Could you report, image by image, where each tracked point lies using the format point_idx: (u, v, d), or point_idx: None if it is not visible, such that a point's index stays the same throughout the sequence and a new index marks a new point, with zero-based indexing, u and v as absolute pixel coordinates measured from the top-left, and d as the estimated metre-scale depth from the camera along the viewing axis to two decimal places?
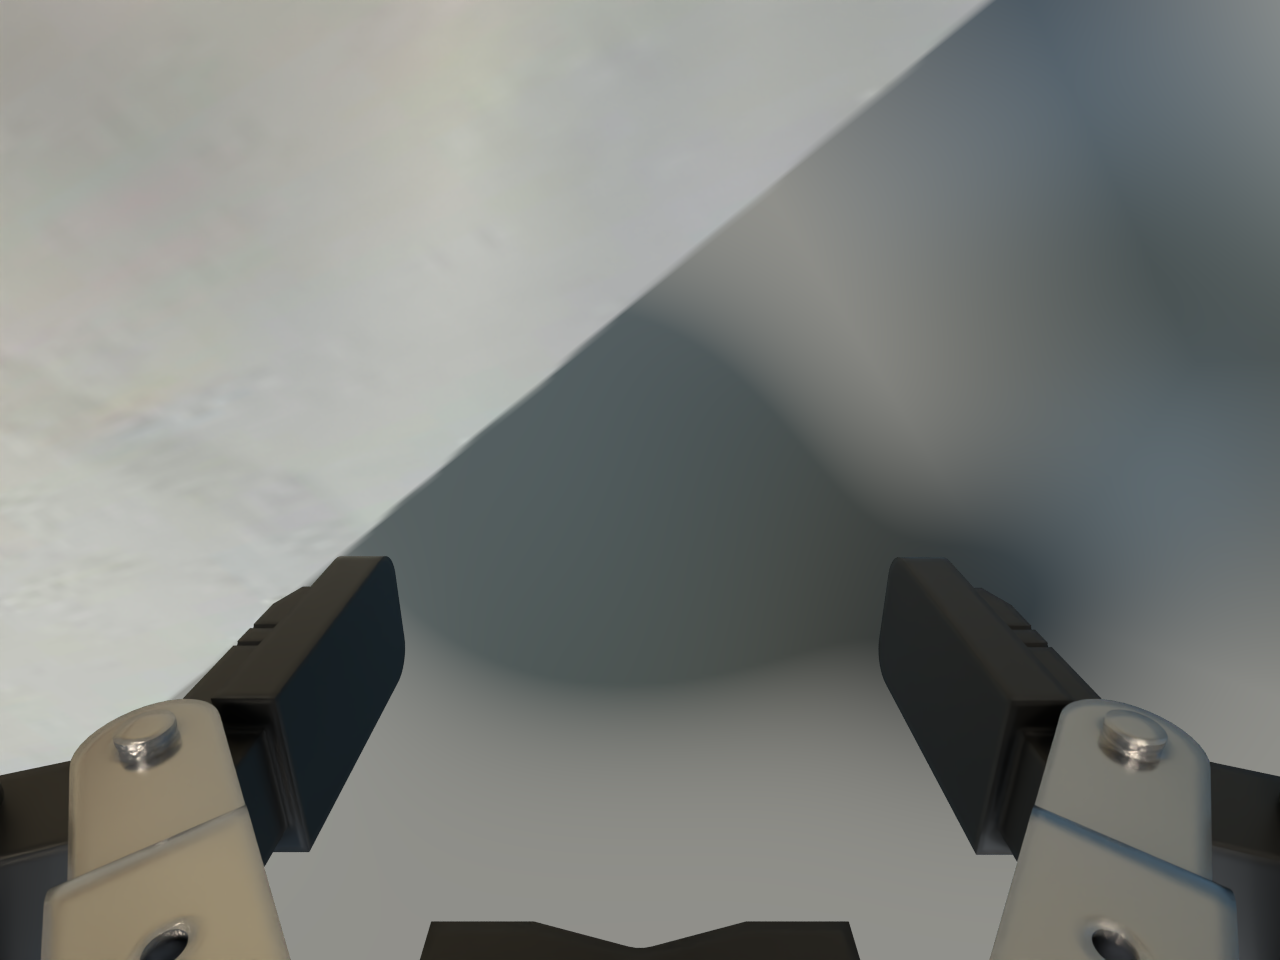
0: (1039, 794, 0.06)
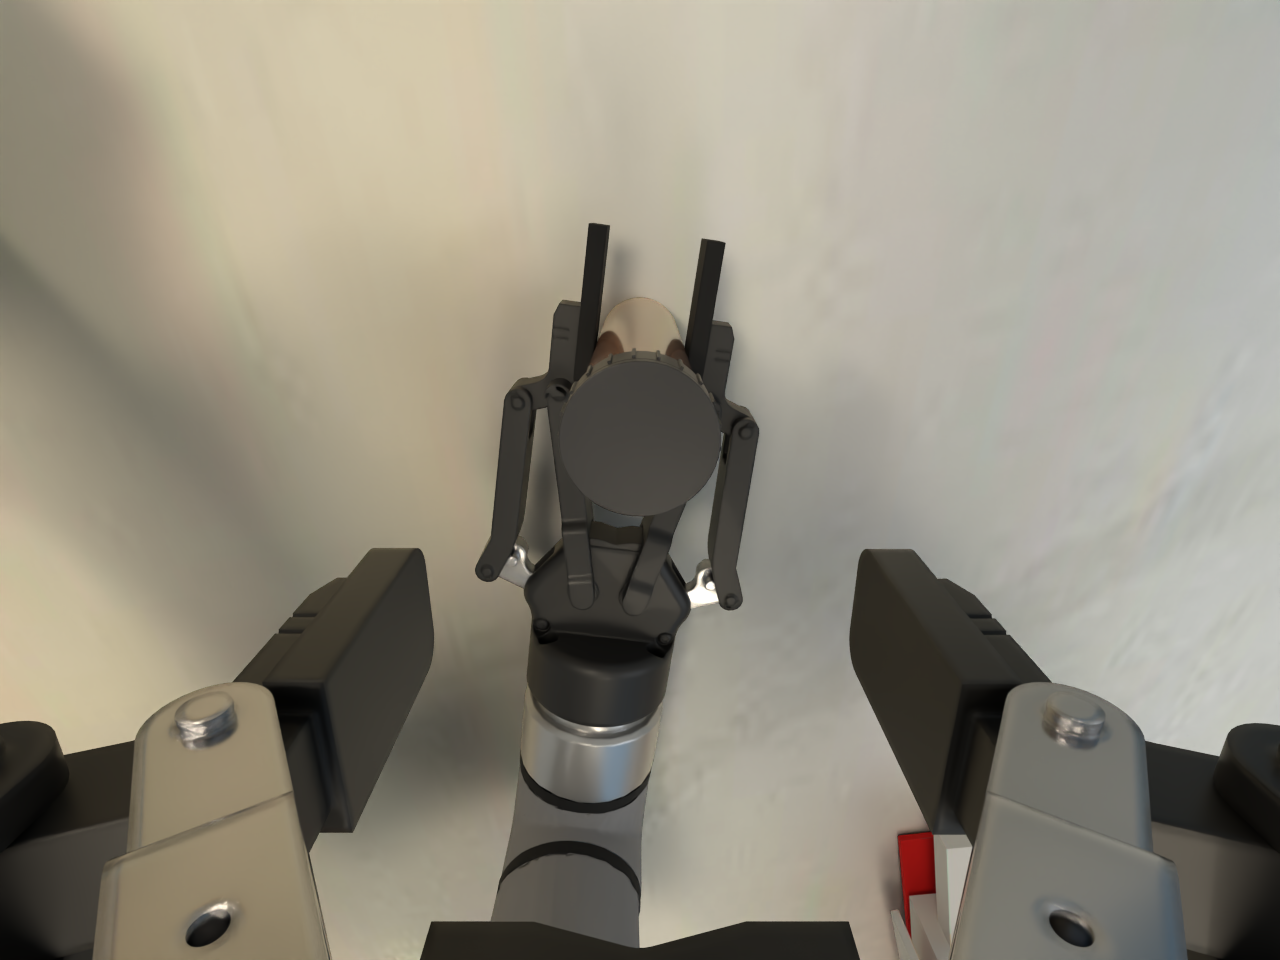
0: (990, 779, 0.06)
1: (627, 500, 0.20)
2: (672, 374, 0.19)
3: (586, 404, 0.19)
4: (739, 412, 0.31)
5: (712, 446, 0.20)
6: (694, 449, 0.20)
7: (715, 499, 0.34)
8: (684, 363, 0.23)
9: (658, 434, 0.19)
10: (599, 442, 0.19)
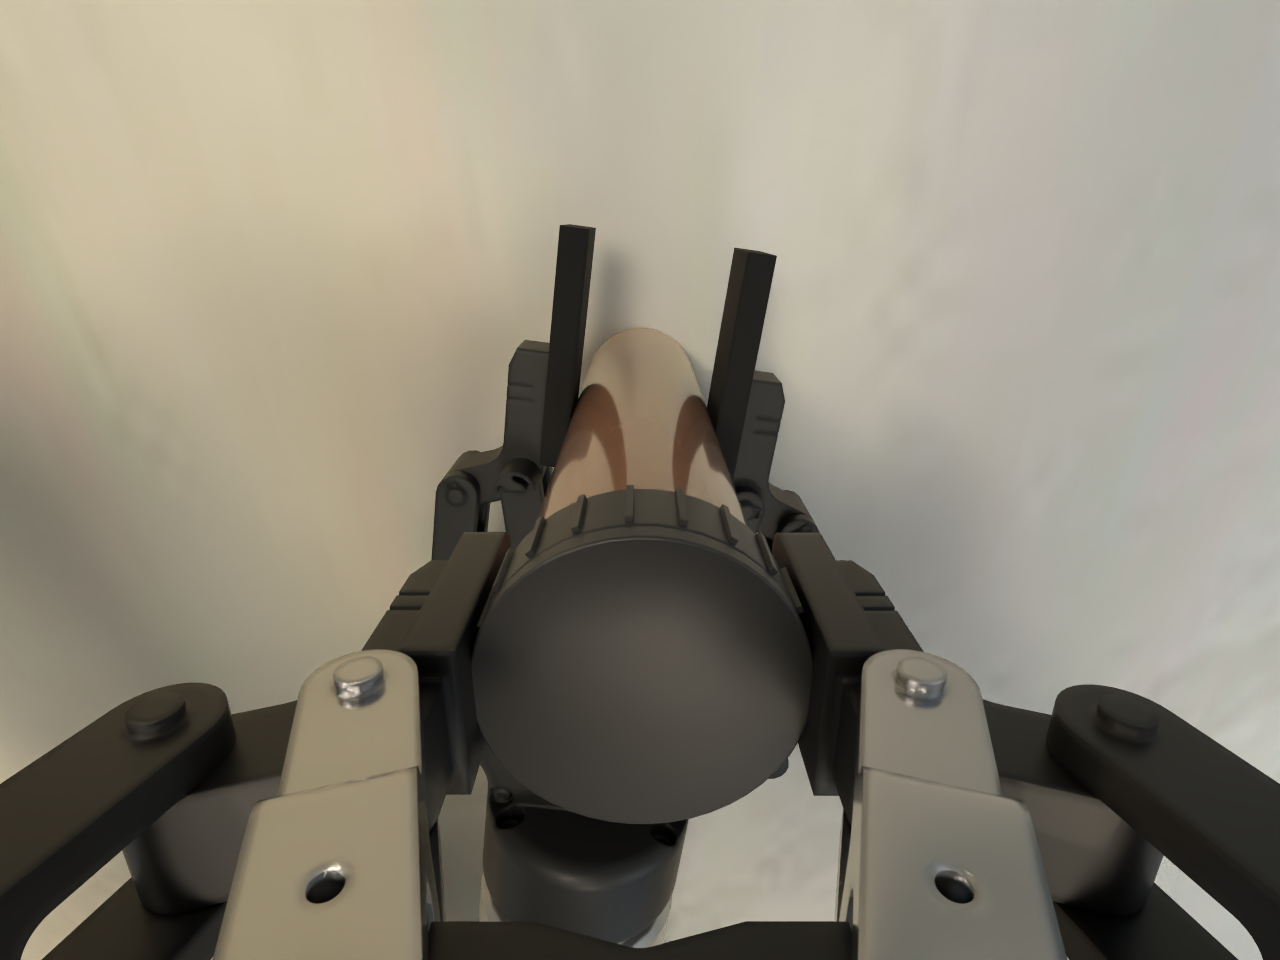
0: (860, 752, 0.06)
1: (616, 798, 0.10)
2: (714, 563, 0.08)
3: (525, 622, 0.09)
4: (789, 507, 0.21)
5: (796, 701, 0.09)
6: (758, 707, 0.09)
7: None
8: (722, 481, 0.13)
9: (682, 679, 0.09)
10: (556, 693, 0.09)
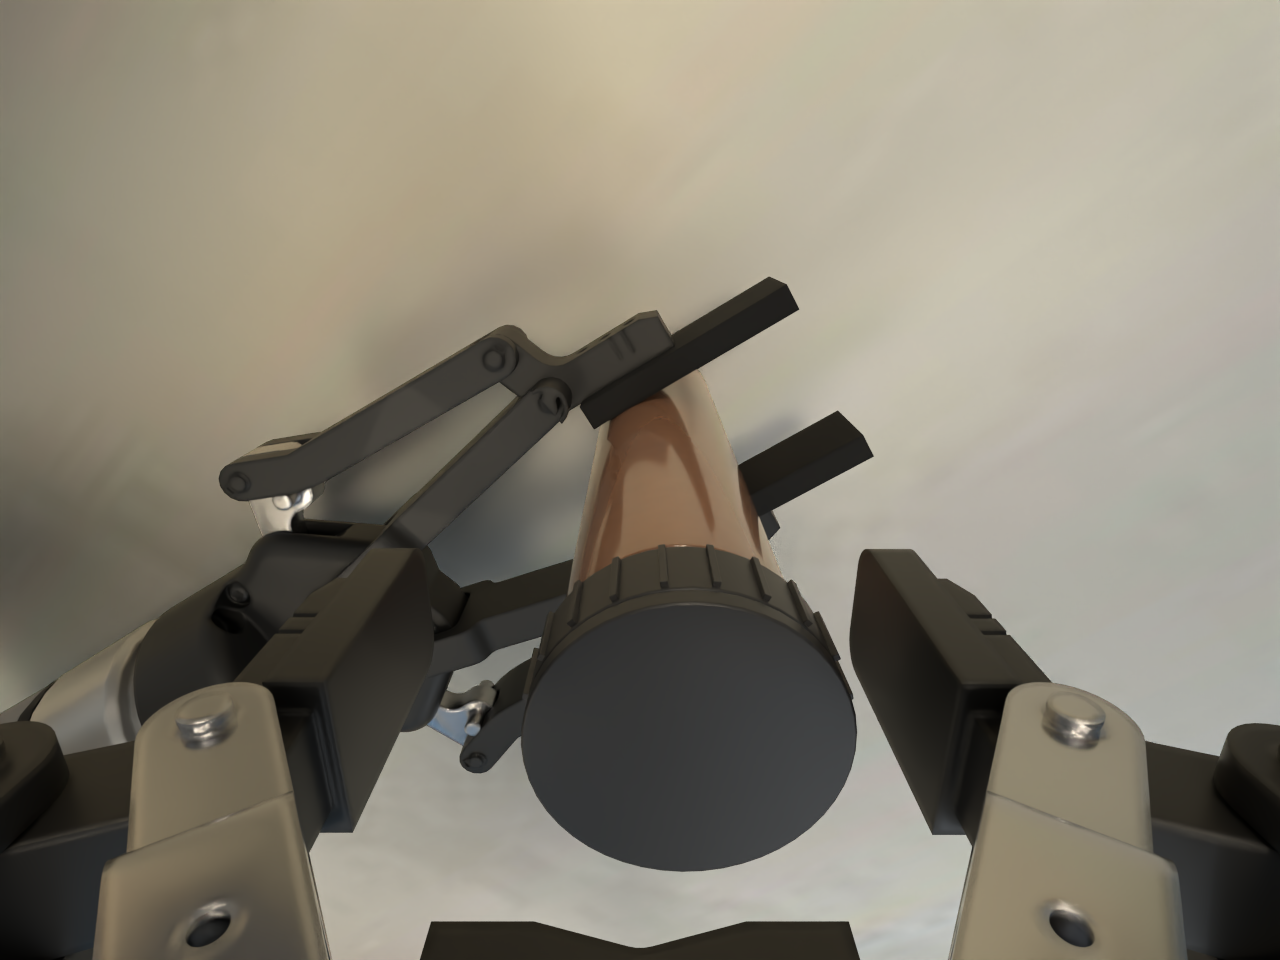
0: (990, 779, 0.06)
1: (775, 822, 0.10)
2: (605, 635, 0.09)
3: (563, 784, 0.10)
4: None
5: (789, 647, 0.09)
6: (771, 678, 0.09)
7: None
8: None
9: (697, 716, 0.09)
10: (641, 802, 0.10)
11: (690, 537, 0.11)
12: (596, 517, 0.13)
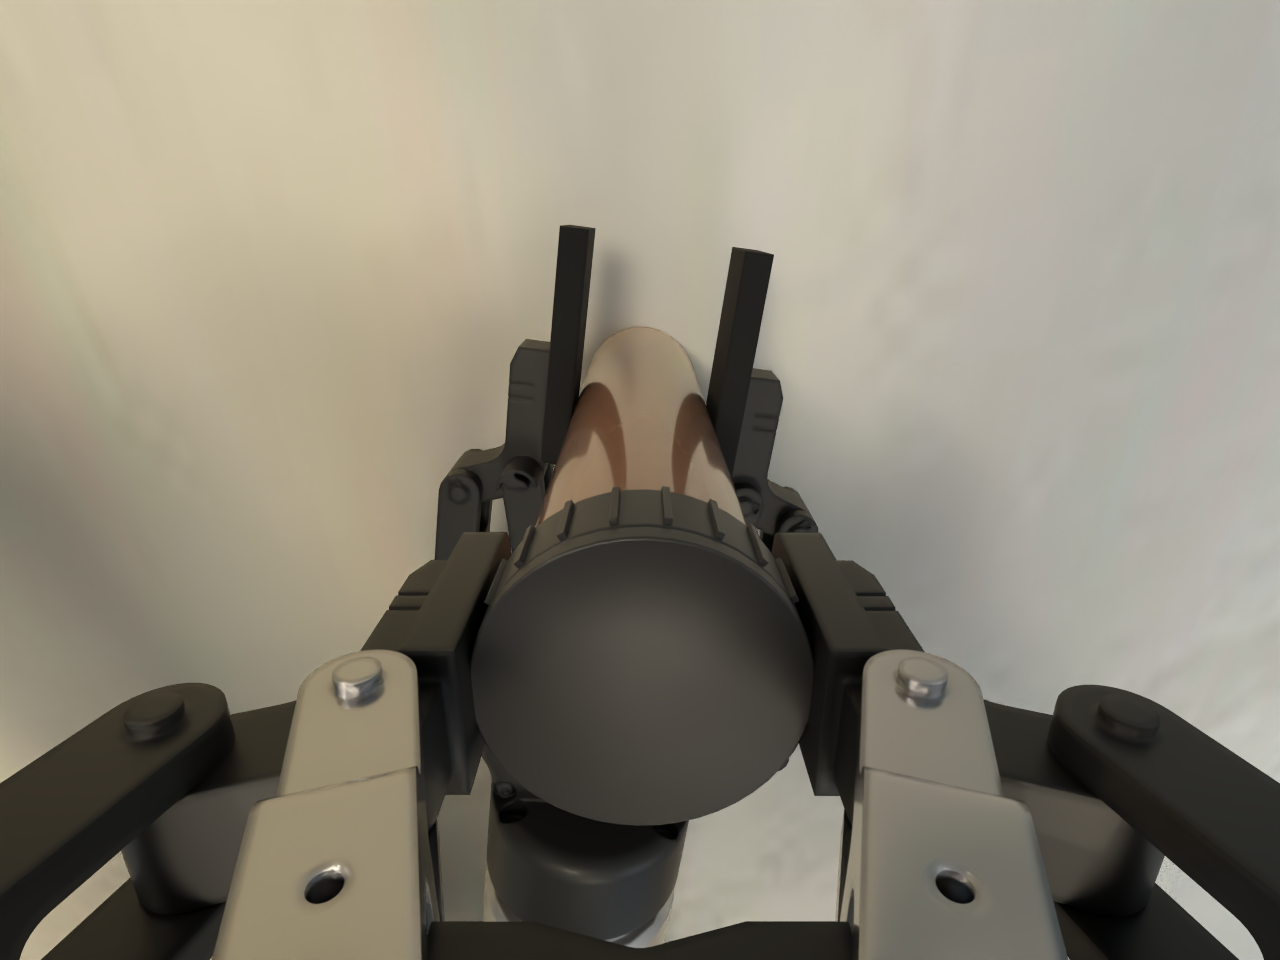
0: (861, 752, 0.06)
1: (779, 683, 0.09)
2: (480, 678, 0.09)
3: (599, 796, 0.10)
4: (788, 503, 0.21)
5: (600, 559, 0.08)
6: (620, 592, 0.09)
7: None
8: (721, 476, 0.13)
9: (612, 668, 0.09)
10: (666, 760, 0.09)
11: None
12: None
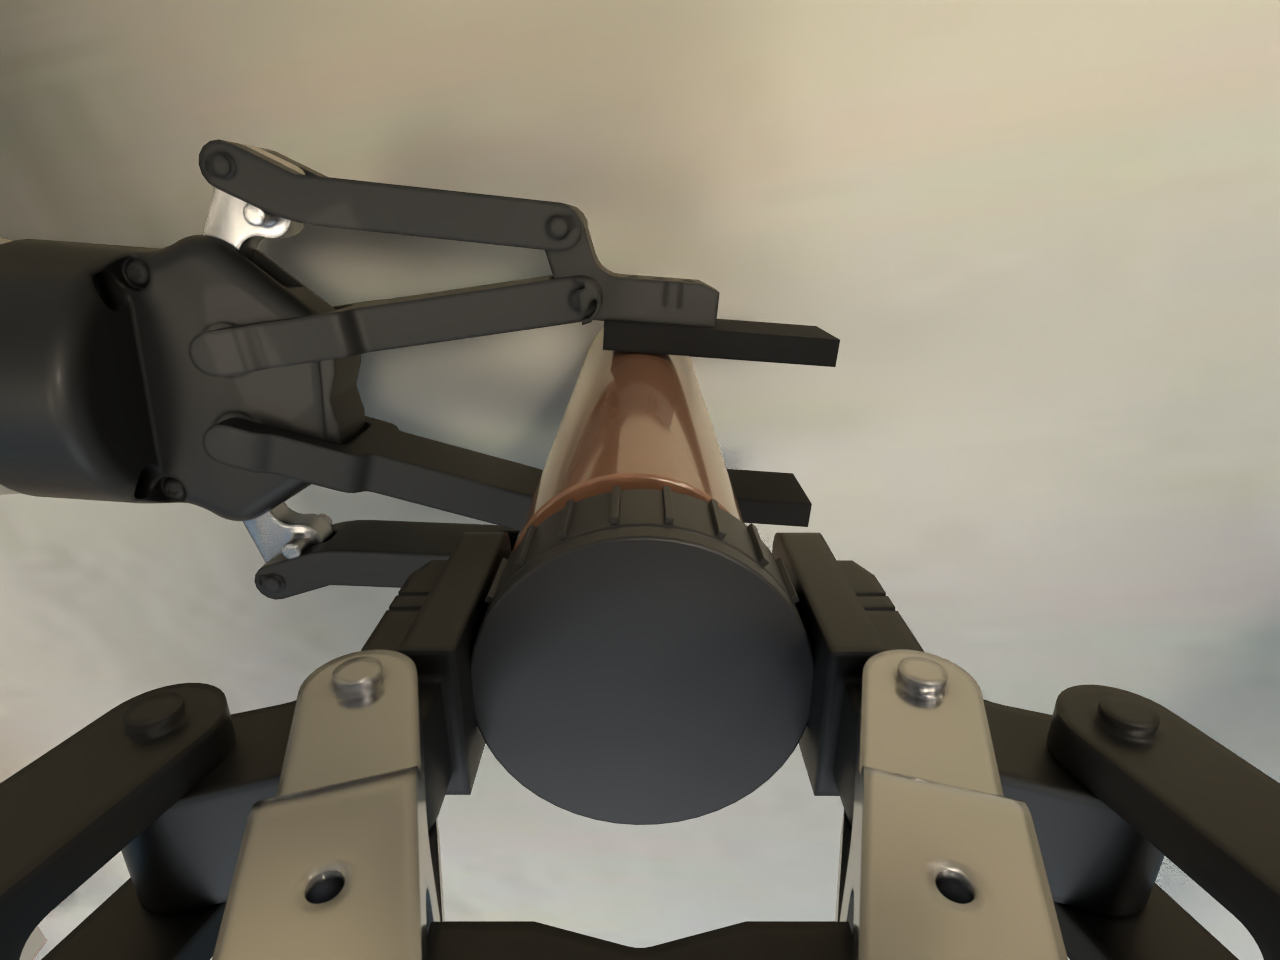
0: (861, 752, 0.06)
1: (779, 682, 0.09)
2: (480, 677, 0.09)
3: (599, 796, 0.10)
4: None
5: (601, 559, 0.08)
6: (621, 592, 0.09)
7: (431, 528, 0.23)
8: None
9: (613, 667, 0.09)
10: (666, 759, 0.10)
11: (713, 493, 0.11)
12: (610, 426, 0.13)
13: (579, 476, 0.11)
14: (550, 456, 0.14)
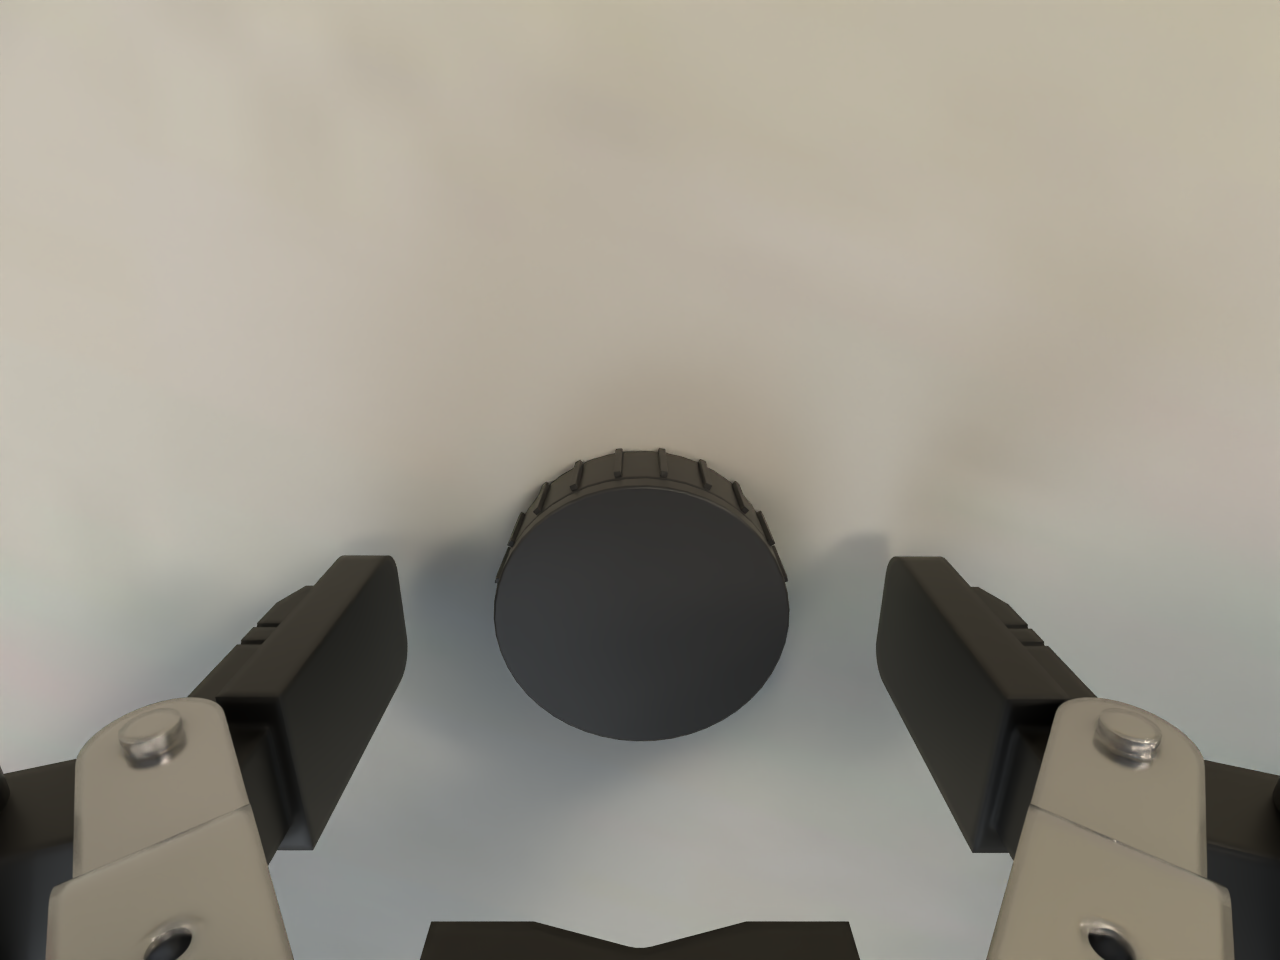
0: (1034, 793, 0.06)
1: (758, 613, 0.11)
2: (504, 609, 0.11)
3: (605, 715, 0.11)
4: None
5: (606, 505, 0.10)
6: (623, 533, 0.10)
7: None
8: None
9: (616, 599, 0.11)
10: (663, 682, 0.11)
11: None
12: None
13: None
14: None
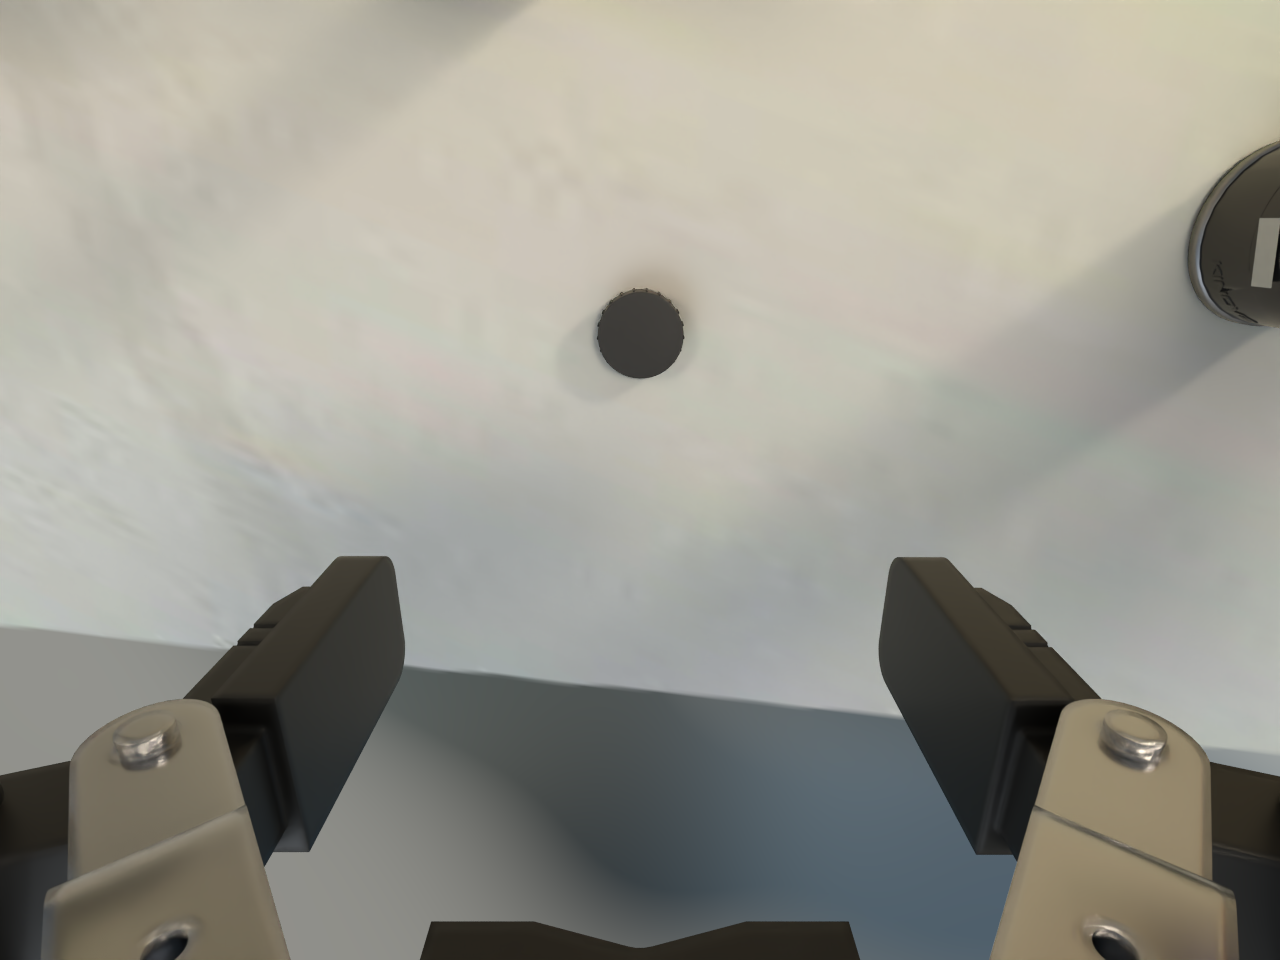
0: (1039, 794, 0.06)
1: (674, 332, 0.37)
2: (601, 331, 0.37)
3: (629, 368, 0.38)
4: None
5: (631, 298, 0.36)
6: (635, 306, 0.37)
7: None
8: None
9: (633, 328, 0.37)
10: (647, 356, 0.37)
11: None
12: None
13: None
14: None
